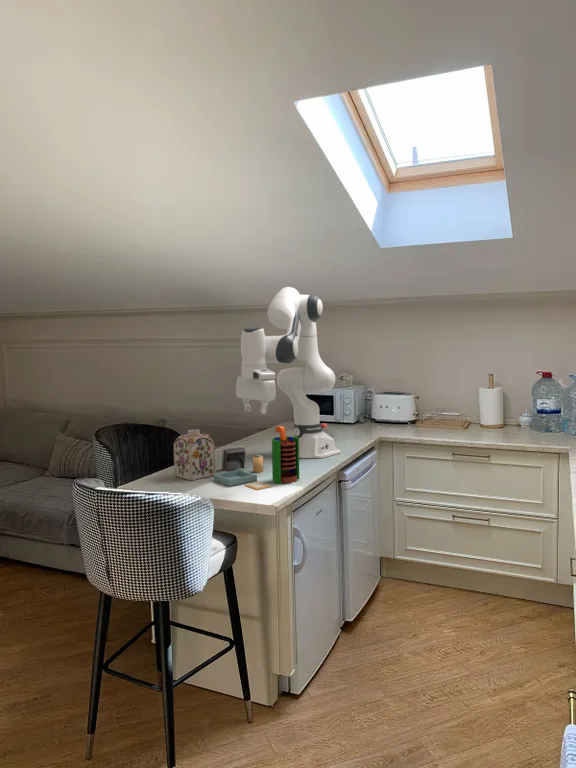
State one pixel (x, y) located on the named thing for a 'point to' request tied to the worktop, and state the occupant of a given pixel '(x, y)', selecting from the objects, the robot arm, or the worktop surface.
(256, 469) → the orange part
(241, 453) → the electrical switch
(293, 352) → the robot arm
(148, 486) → the worktop surface
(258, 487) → the tag
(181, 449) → the decorative jar
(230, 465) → the grey block
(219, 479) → the tray
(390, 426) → the worktop surface
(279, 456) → the motor
